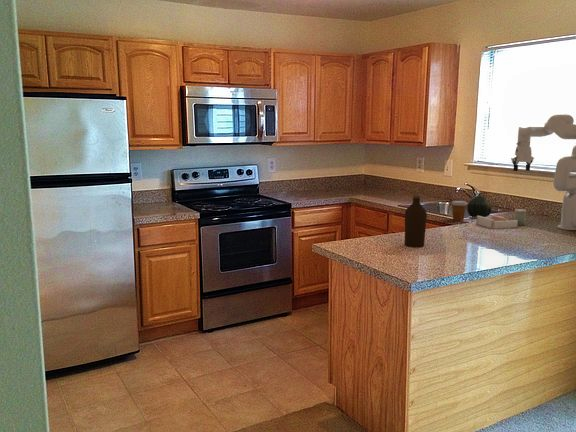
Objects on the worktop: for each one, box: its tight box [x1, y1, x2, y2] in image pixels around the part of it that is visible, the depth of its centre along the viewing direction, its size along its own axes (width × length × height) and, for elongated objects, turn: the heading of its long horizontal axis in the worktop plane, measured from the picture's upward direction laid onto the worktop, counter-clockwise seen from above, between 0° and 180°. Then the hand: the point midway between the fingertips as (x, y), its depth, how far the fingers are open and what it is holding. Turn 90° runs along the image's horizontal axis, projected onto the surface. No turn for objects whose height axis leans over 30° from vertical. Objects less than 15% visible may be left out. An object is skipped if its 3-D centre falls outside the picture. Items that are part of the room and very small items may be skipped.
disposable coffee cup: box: [450, 200, 468, 222], centre depth 324 cm, size 10×10×12 cm
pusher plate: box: [490, 214, 508, 221], centre depth 307 cm, size 12×2×5 cm, turn 14°
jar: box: [514, 208, 527, 226], centre depth 310 cm, size 6×6×9 cm
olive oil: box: [404, 194, 428, 248], centre depth 251 cm, size 11×11×25 cm
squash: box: [466, 194, 493, 218], centre depth 337 cm, size 14×15×15 cm
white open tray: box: [475, 215, 518, 229], centre depth 307 cm, size 15×17×5 cm
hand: (521, 170), depth 335 cm, fingers open, 9 cm apart
